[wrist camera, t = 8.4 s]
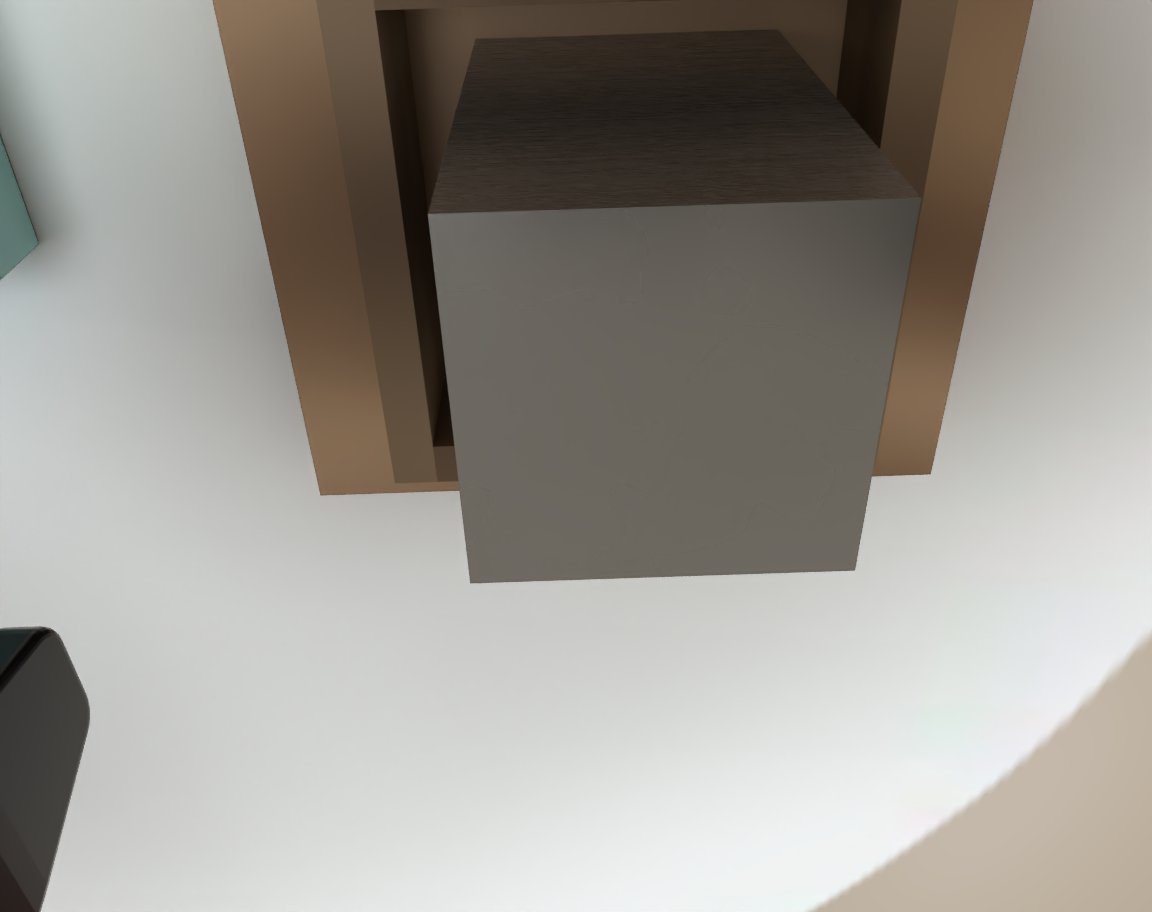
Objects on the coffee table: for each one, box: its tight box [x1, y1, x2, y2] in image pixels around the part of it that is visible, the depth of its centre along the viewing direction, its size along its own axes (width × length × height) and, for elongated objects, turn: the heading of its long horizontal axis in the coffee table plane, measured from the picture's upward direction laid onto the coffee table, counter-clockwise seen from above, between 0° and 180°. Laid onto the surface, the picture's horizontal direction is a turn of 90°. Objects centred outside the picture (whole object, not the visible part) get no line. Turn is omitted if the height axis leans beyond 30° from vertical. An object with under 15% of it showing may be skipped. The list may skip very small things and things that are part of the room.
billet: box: [428, 29, 921, 583], centre depth 13 cm, size 4×4×7 cm
